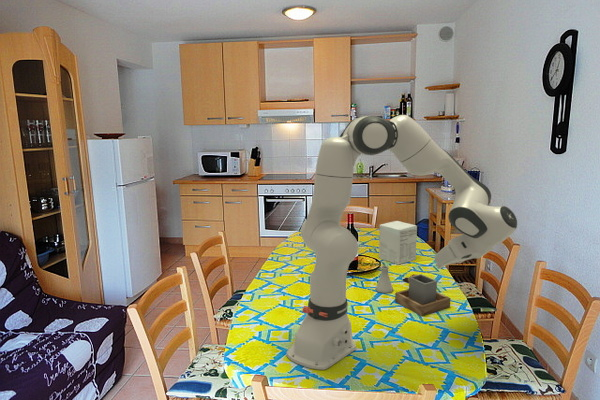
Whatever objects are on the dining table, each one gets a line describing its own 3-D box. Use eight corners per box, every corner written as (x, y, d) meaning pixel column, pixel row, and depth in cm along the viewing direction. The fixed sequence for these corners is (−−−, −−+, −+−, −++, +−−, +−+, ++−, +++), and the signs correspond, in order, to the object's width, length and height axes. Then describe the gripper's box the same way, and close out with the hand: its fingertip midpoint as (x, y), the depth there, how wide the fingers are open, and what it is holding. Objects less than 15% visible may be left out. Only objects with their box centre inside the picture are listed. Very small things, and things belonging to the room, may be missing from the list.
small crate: (436, 303, 149) (437, 281, 147) (424, 307, 146) (424, 284, 144) (420, 296, 156) (420, 274, 154) (408, 299, 153) (409, 277, 151)
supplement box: (416, 259, 200) (417, 225, 196) (398, 265, 192) (399, 229, 189) (396, 252, 210) (397, 220, 207) (378, 257, 203) (378, 224, 200)
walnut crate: (450, 307, 148) (450, 298, 148) (422, 316, 142) (422, 307, 141) (422, 293, 161) (422, 285, 160) (395, 301, 154) (395, 292, 153)
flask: (393, 294, 160) (394, 270, 159) (375, 293, 162) (375, 269, 160) (393, 287, 167) (393, 264, 166) (375, 286, 169) (376, 263, 167)
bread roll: (433, 283, 171) (433, 275, 171) (422, 289, 166) (422, 281, 165) (411, 277, 179) (411, 269, 178) (400, 282, 173) (400, 274, 173)
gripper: (490, 230, 134) (464, 250, 144) (446, 240, 124) (422, 261, 135) (501, 247, 131) (474, 266, 141) (457, 258, 121) (431, 278, 132)
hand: (448, 264), depth 138 cm, fingers open, 8 cm apart
